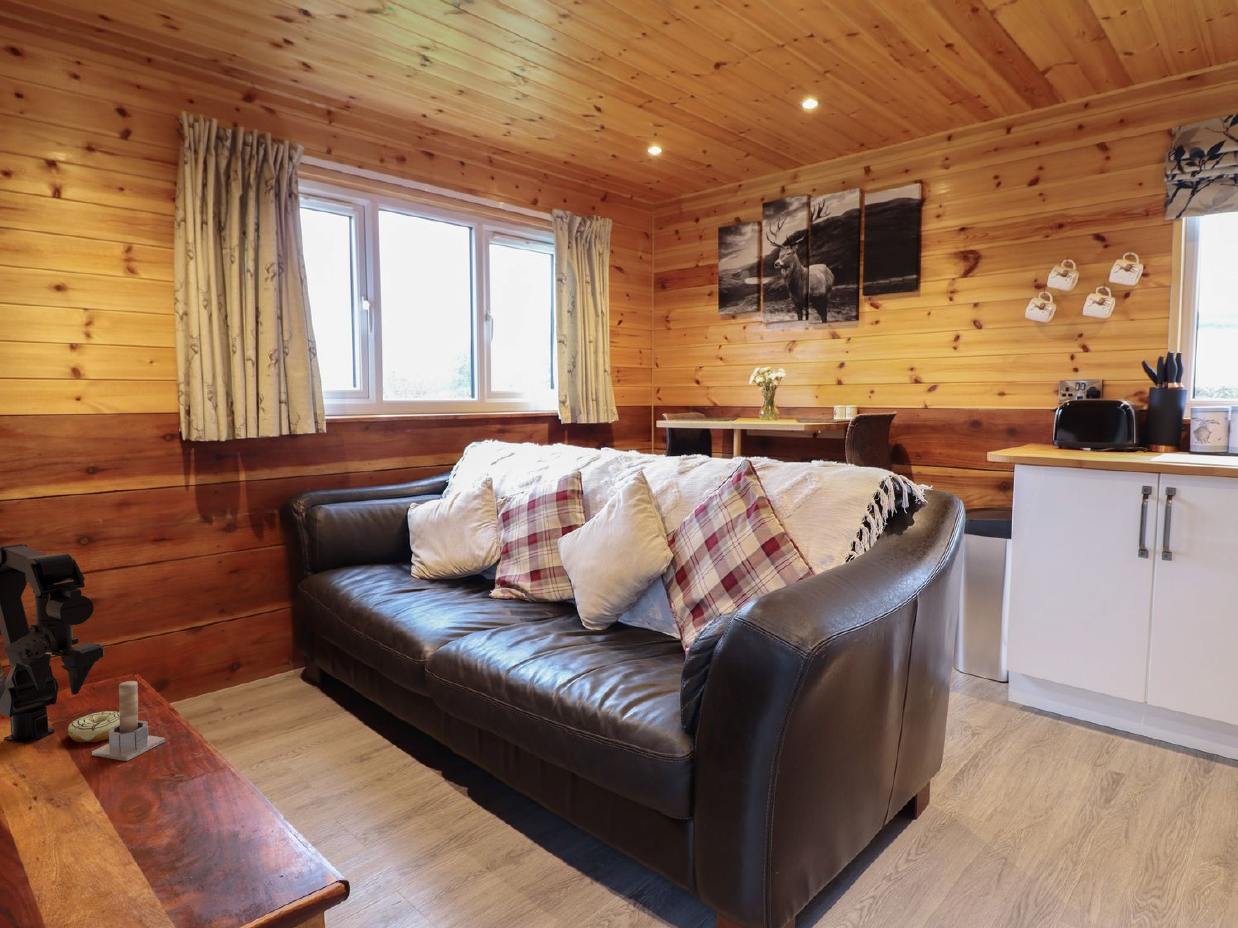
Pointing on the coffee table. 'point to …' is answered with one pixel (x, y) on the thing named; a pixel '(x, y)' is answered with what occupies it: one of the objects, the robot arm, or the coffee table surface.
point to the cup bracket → (128, 743)
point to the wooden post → (128, 706)
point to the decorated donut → (93, 726)
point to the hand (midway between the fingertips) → (57, 691)
